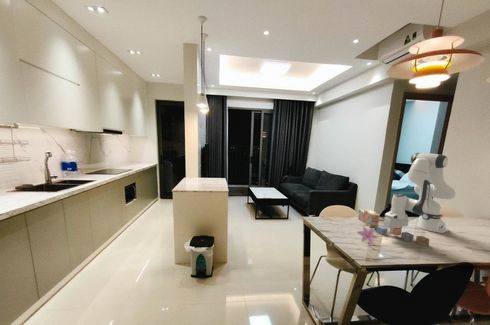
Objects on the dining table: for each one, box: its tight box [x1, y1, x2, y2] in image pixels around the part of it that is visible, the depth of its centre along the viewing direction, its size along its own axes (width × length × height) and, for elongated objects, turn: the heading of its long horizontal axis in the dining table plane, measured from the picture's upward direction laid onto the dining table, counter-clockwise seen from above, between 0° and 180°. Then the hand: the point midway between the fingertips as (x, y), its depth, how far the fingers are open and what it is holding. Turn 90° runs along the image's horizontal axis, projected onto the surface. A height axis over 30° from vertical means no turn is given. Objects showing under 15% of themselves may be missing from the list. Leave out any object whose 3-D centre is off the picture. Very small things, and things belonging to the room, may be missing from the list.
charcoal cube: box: [400, 231, 414, 243], centre depth 148 cm, size 5×5×5 cm
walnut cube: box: [415, 235, 430, 247], centre depth 142 cm, size 5×5×5 cm
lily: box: [356, 226, 379, 246], centre depth 143 cm, size 12×12×10 cm
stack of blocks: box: [358, 209, 380, 229], centre depth 177 cm, size 21×6×12 cm, turn 175°
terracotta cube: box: [389, 227, 403, 237], centre depth 153 cm, size 5×5×5 cm
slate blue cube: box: [375, 225, 388, 236], centre depth 158 cm, size 5×5×5 cm
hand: (395, 231), depth 153 cm, fingers closed on terracotta cube, 5 cm apart
